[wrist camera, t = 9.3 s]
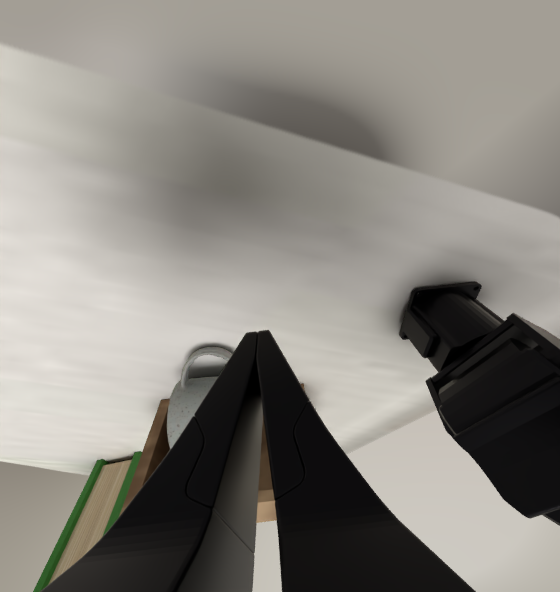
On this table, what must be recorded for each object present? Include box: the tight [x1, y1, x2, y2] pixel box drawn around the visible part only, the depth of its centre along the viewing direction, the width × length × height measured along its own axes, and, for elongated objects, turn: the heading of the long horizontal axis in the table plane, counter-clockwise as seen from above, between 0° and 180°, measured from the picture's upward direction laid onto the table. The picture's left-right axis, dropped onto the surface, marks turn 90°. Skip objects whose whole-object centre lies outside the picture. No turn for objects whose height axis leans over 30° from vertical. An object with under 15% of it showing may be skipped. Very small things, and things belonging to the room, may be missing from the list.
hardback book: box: [33, 451, 142, 592], centre depth 32 cm, size 18×7×24 cm, turn 15°
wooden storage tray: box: [119, 384, 305, 523], centre depth 27 cm, size 18×6×11 cm, turn 94°
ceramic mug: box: [167, 347, 232, 449], centre depth 25 cm, size 11×8×8 cm
